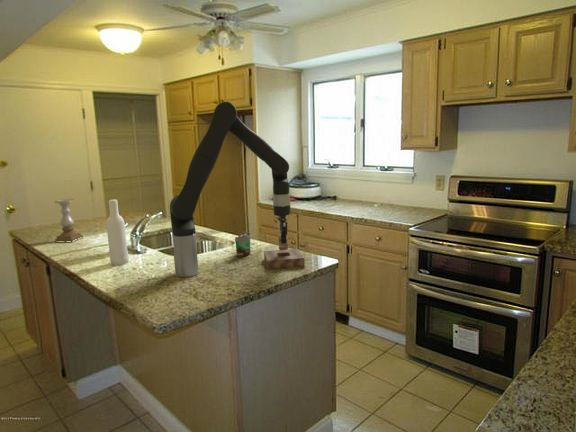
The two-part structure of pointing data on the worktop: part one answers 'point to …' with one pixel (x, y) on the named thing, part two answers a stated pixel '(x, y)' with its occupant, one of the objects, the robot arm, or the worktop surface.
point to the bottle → (116, 236)
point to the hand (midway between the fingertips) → (283, 241)
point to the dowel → (281, 246)
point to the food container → (243, 244)
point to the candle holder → (67, 222)
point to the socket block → (284, 259)
